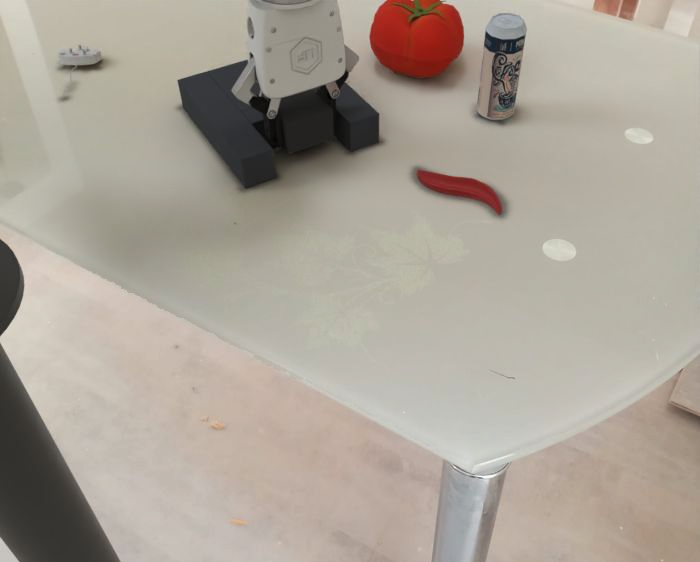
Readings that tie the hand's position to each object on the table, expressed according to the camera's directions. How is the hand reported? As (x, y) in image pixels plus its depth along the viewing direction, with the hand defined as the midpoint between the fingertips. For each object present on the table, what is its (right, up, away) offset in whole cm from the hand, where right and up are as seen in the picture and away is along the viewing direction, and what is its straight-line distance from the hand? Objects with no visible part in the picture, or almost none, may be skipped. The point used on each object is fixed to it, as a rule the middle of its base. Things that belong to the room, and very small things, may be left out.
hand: (301, 131), depth 92 cm
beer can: (+24, +4, +7) cm, 26 cm away
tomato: (+15, +13, +15) cm, 25 cm away
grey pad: (-3, +3, +6) cm, 8 cm away
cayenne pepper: (+18, -8, -3) cm, 20 cm away
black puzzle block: (-1, 0, +1) cm, 1 cm away
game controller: (-32, +12, +15) cm, 38 cm away
